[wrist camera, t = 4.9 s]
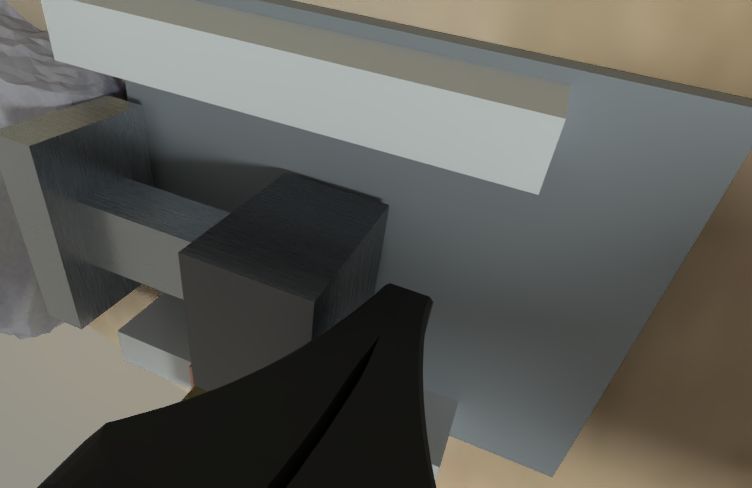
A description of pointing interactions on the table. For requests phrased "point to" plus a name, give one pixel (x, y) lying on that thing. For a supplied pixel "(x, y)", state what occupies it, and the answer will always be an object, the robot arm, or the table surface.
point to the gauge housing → (434, 186)
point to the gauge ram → (184, 241)
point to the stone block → (17, 104)
